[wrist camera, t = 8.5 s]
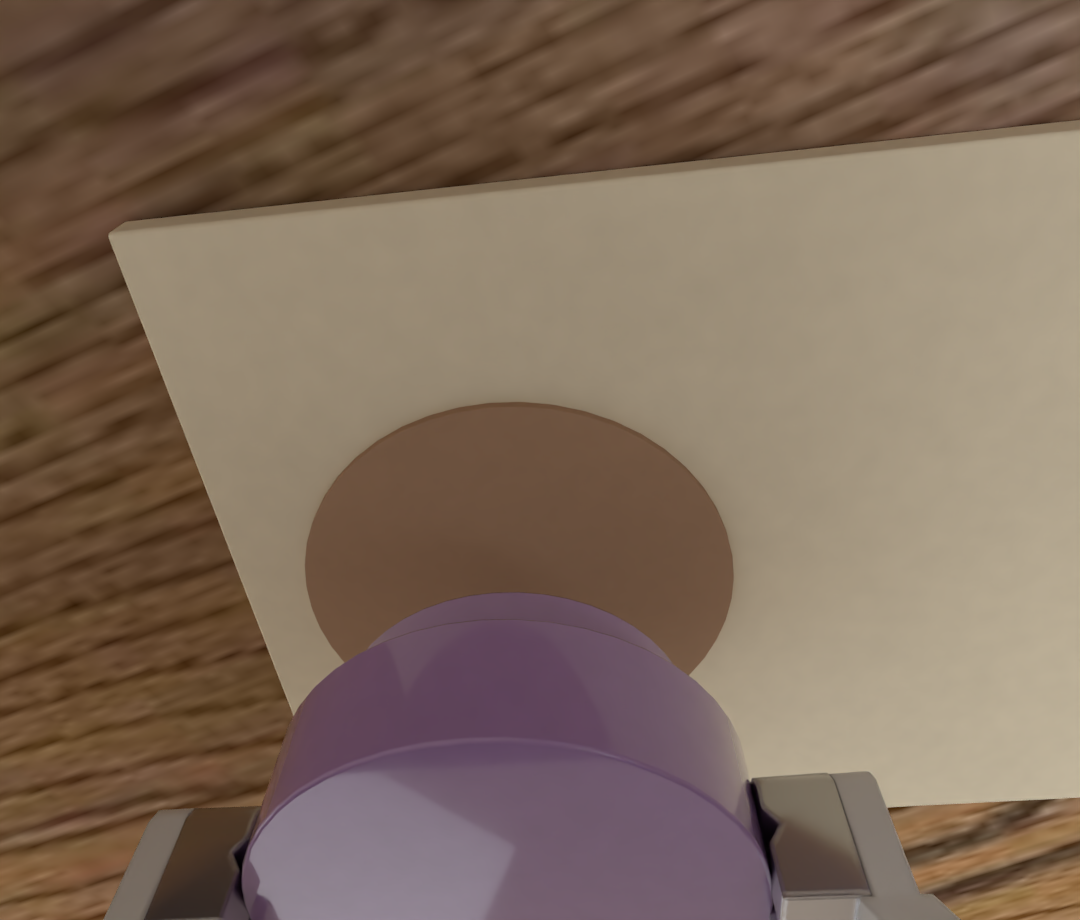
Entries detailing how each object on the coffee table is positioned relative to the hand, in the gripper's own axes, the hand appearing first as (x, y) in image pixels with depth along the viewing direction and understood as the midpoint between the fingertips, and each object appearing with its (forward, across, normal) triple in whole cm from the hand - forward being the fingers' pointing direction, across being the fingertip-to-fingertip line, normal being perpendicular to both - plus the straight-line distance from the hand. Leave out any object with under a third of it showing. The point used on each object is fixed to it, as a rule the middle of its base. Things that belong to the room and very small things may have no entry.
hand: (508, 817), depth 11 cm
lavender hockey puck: (+2, 0, 0) cm, 2 cm away
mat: (+5, -6, 0) cm, 8 cm away
